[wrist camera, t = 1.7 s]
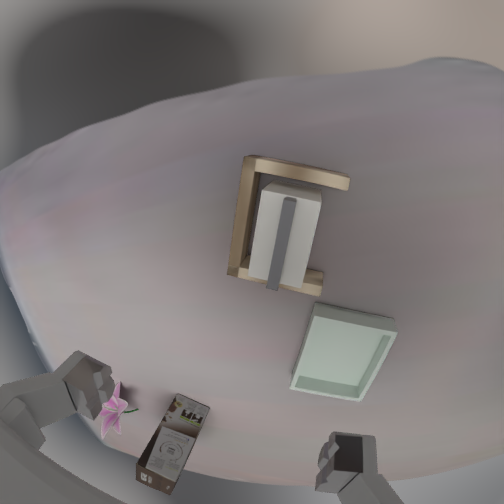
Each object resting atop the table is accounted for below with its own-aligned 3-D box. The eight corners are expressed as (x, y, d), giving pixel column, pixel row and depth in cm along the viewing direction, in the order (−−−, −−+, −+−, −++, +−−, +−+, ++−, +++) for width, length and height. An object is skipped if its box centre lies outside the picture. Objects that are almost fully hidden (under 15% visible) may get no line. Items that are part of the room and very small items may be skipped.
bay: (346, 174, 29) (350, 178, 26) (320, 281, 34) (319, 296, 31) (252, 154, 31) (244, 156, 27) (235, 262, 35) (227, 274, 32)
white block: (320, 189, 30) (321, 206, 23) (305, 259, 33) (299, 297, 26) (273, 179, 31) (258, 193, 23) (261, 249, 34) (243, 283, 26)
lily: (152, 386, 49) (109, 399, 41) (157, 437, 49) (119, 453, 41) (117, 369, 56) (79, 377, 48) (123, 416, 55) (88, 427, 47)
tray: (393, 318, 33) (398, 332, 31) (359, 386, 38) (360, 401, 35) (315, 301, 35) (314, 315, 32) (291, 373, 40) (289, 388, 37)
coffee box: (176, 392, 47) (135, 463, 32) (210, 407, 46) (176, 483, 31) (169, 416, 50) (134, 480, 36) (200, 430, 50) (169, 496, 35)
